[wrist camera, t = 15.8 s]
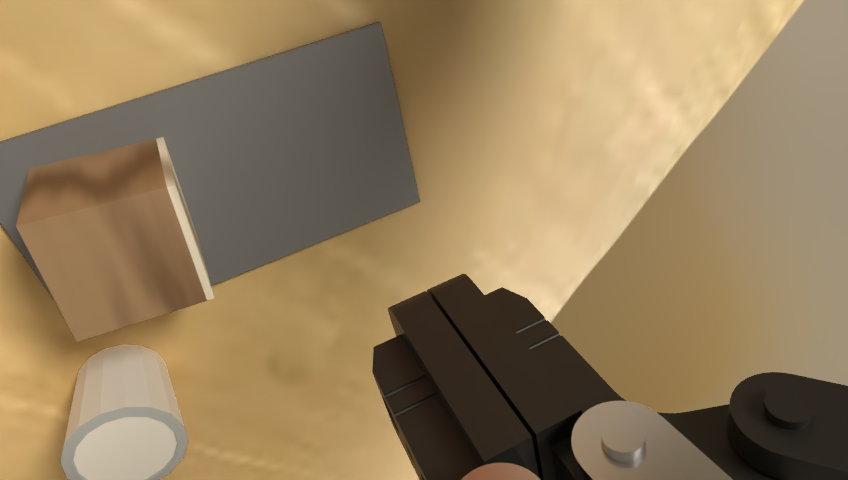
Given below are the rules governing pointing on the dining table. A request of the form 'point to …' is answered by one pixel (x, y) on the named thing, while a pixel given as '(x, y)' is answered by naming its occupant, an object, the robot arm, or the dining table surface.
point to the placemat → (255, 150)
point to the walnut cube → (113, 238)
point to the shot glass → (123, 418)
